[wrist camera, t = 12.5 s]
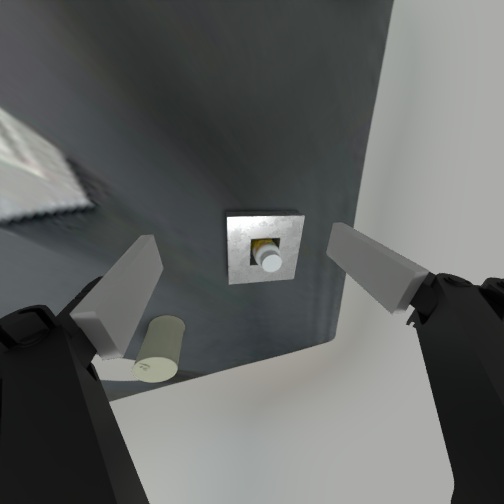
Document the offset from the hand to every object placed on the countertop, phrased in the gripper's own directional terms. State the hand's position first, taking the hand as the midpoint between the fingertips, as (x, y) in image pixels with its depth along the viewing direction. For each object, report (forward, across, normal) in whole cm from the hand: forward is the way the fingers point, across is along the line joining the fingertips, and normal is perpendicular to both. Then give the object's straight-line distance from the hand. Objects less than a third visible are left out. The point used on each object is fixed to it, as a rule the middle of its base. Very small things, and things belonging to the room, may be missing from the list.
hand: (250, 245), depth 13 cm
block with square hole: (+25, +7, -13) cm, 29 cm away
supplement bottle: (+26, +7, -13) cm, 29 cm away
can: (+25, -19, -36) cm, 48 cm away
